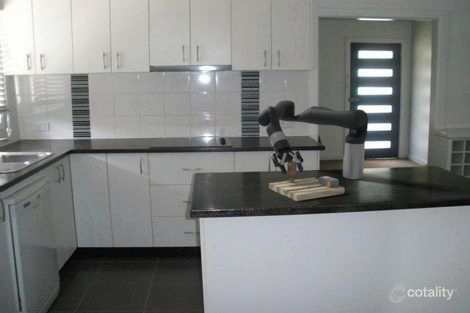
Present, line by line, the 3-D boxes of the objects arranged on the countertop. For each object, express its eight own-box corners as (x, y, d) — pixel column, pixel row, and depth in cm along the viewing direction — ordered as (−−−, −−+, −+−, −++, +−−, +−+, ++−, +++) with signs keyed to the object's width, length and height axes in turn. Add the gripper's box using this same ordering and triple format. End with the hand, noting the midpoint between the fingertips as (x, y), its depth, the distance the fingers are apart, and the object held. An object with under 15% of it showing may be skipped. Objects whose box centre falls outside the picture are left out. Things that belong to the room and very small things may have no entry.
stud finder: (318, 183, 187) (318, 176, 186) (326, 182, 189) (327, 175, 188) (330, 187, 180) (330, 180, 179) (338, 186, 182) (338, 179, 181)
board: (268, 188, 189) (268, 182, 189) (313, 182, 199) (313, 177, 199) (296, 200, 170) (296, 194, 169) (344, 193, 180) (344, 187, 179)
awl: (285, 187, 192) (285, 162, 190) (292, 186, 193) (293, 161, 191) (290, 189, 188) (290, 164, 186) (297, 187, 190) (298, 163, 188)
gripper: (290, 147, 202) (303, 175, 194) (263, 149, 196) (276, 178, 188) (296, 137, 197) (310, 166, 188) (269, 139, 191) (283, 169, 182)
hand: (293, 172), depth 188 cm, fingers open, 8 cm apart
